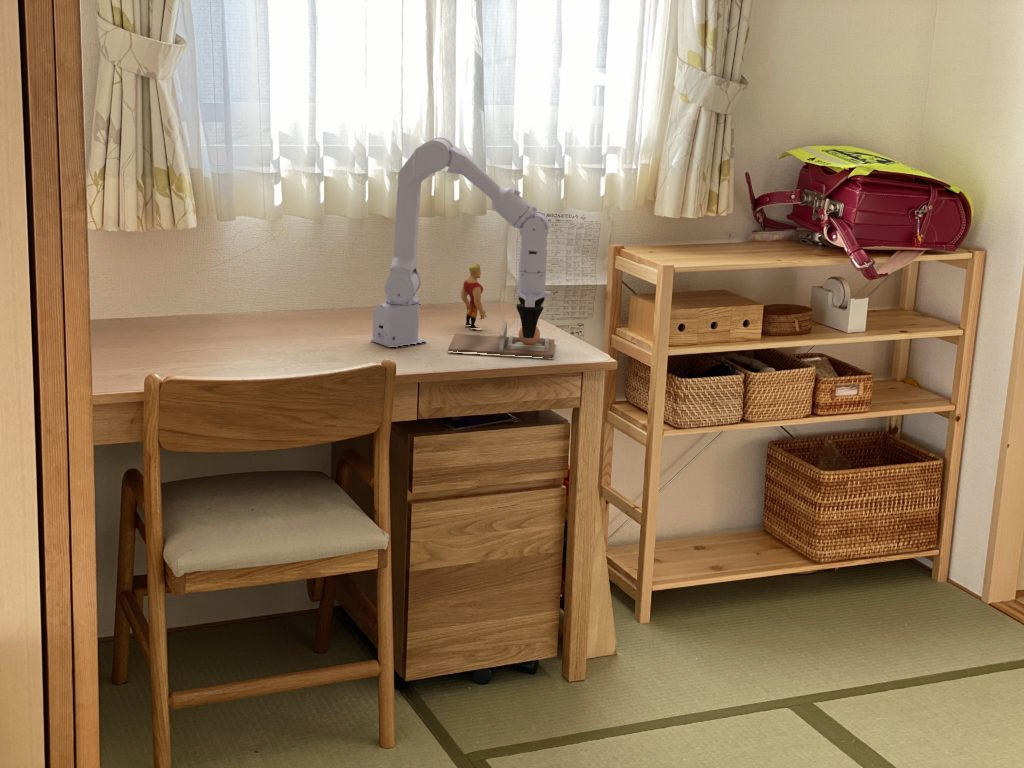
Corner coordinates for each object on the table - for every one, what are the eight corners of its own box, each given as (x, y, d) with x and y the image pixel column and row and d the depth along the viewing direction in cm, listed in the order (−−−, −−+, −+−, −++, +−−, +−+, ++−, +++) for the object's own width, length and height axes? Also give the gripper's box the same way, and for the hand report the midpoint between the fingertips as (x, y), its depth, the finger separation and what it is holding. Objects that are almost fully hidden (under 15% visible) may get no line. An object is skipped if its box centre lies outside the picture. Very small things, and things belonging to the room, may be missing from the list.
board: (448, 353, 251) (448, 332, 249) (454, 338, 264) (455, 318, 263) (553, 359, 250) (554, 338, 249) (554, 343, 263) (555, 323, 262)
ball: (528, 348, 253) (529, 327, 252) (513, 344, 257) (514, 323, 255) (543, 346, 256) (545, 325, 255) (529, 341, 260) (530, 320, 258)
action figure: (488, 332, 271) (491, 267, 267) (474, 333, 269) (476, 267, 265) (472, 323, 279) (474, 259, 275) (458, 324, 278) (460, 260, 274)
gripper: (550, 277, 245) (547, 342, 249) (552, 265, 259) (548, 327, 263) (516, 276, 245) (513, 340, 249) (519, 264, 259) (516, 325, 263)
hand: (529, 333), depth 256 cm, fingers open, 7 cm apart
